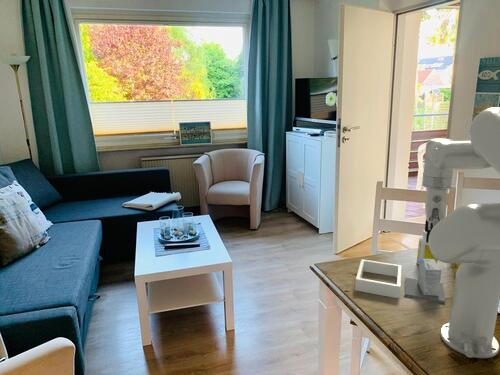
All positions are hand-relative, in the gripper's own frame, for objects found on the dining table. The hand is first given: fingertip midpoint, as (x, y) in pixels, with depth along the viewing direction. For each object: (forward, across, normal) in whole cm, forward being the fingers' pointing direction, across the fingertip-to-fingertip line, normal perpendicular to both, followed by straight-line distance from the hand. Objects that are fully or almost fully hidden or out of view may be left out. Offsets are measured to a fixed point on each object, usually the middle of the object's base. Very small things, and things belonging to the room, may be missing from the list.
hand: (431, 237), depth 109 cm
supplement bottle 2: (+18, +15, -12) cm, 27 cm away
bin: (+18, +1, +14) cm, 23 cm away
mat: (+18, +1, 0) cm, 18 cm away
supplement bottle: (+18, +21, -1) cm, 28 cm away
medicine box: (+18, +1, -1) cm, 18 cm away
